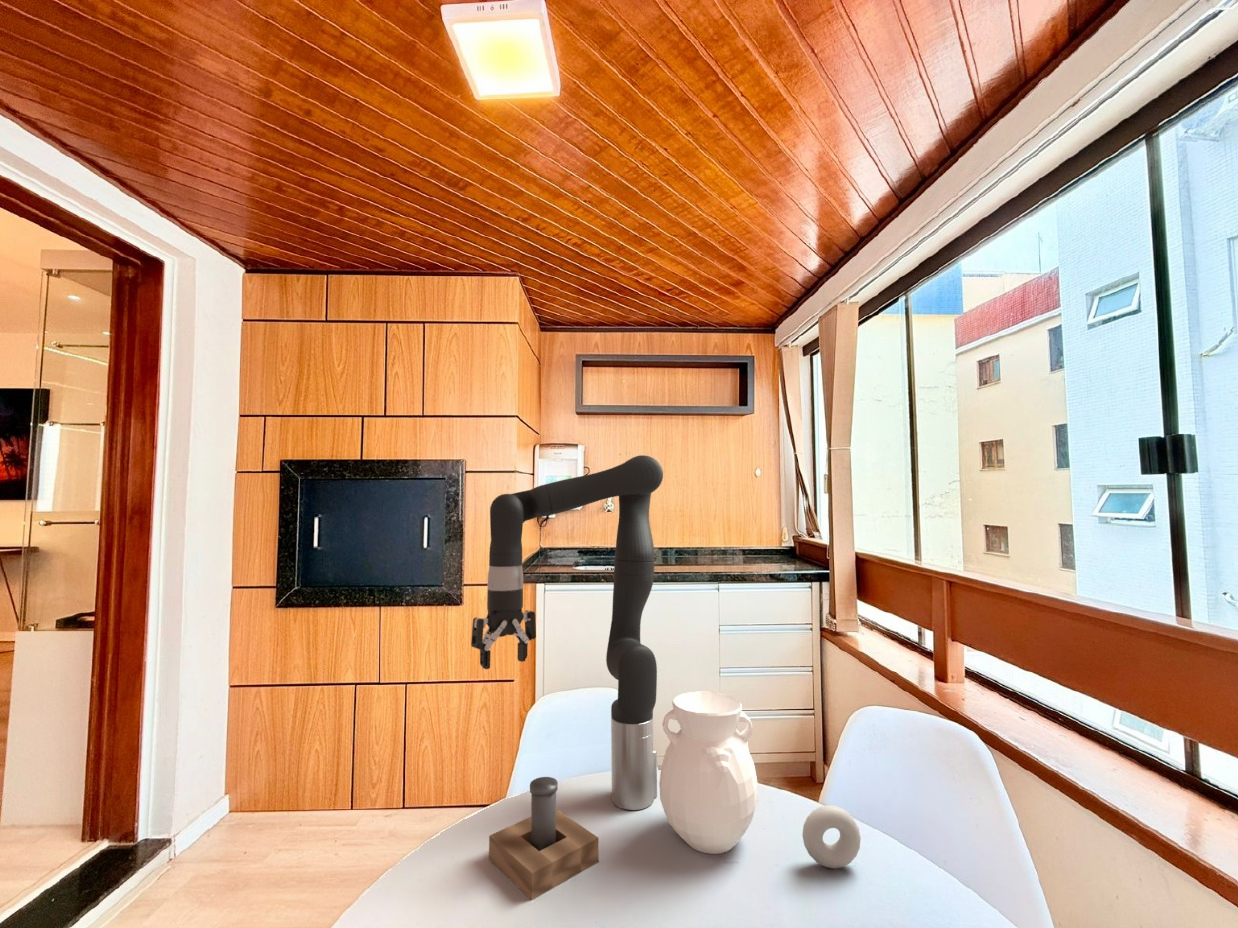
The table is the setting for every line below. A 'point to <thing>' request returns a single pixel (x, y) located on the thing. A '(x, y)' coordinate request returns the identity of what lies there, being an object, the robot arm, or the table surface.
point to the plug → (543, 812)
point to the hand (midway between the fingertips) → (504, 664)
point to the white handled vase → (708, 772)
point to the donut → (838, 851)
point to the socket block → (543, 855)
